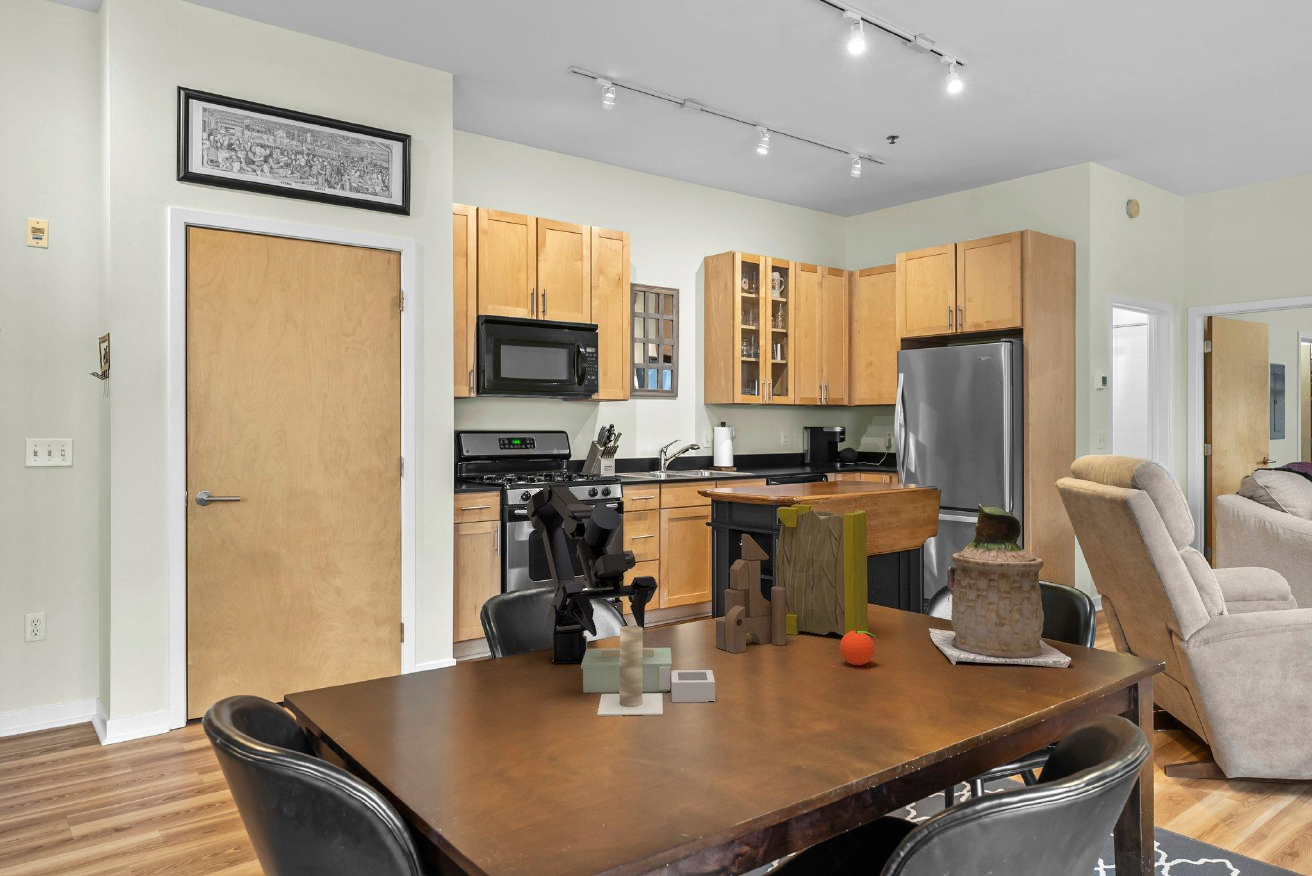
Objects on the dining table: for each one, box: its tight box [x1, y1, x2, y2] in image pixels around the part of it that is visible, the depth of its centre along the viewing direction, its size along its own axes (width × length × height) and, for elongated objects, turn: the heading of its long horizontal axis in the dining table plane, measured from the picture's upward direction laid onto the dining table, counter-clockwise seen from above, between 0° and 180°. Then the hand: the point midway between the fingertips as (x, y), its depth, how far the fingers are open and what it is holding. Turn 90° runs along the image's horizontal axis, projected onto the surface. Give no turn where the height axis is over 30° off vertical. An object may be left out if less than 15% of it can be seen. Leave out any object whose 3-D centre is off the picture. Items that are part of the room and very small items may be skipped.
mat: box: [596, 692, 664, 717], centre depth 143 cm, size 11×11×1 cm
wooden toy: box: [715, 533, 787, 654], centre depth 183 cm, size 15×7×25 cm, turn 121°
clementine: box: [839, 630, 875, 667], centre depth 167 cm, size 8×7×7 cm
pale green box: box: [580, 647, 716, 703], centre depth 153 cm, size 24×18×6 cm
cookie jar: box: [928, 503, 1072, 669], centre depth 176 cm, size 25×25×32 cm
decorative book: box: [775, 504, 869, 637], centre depth 195 cm, size 20×11×30 cm, turn 58°
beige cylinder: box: [619, 625, 644, 707], centre depth 143 cm, size 4×4×13 cm
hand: (619, 632), depth 147 cm, fingers open, 9 cm apart
